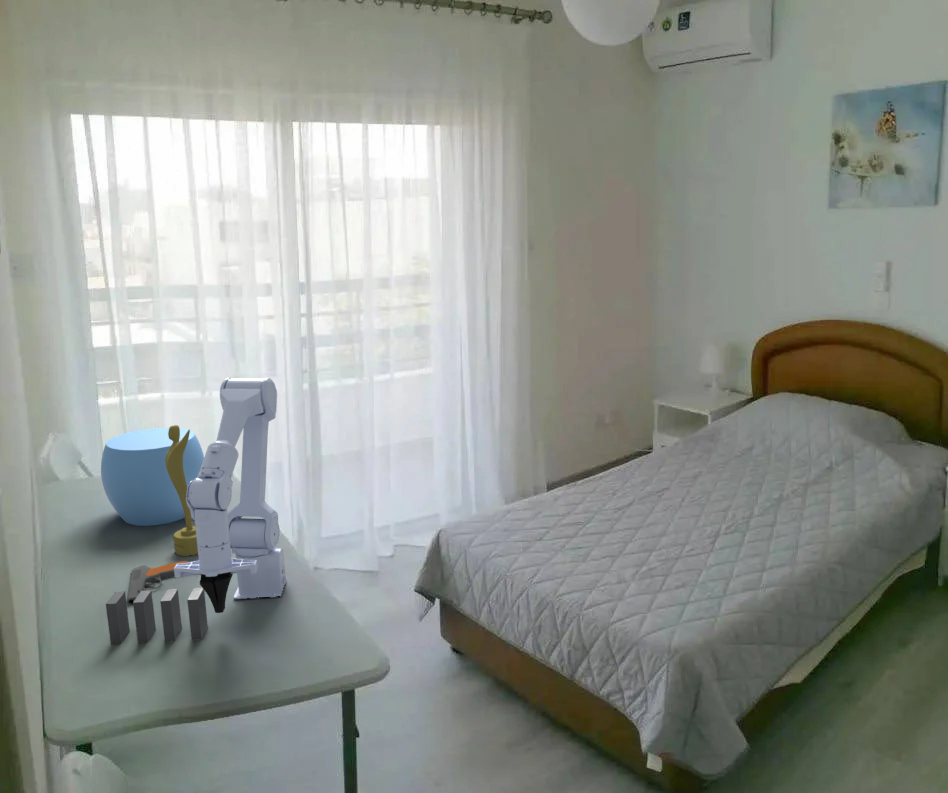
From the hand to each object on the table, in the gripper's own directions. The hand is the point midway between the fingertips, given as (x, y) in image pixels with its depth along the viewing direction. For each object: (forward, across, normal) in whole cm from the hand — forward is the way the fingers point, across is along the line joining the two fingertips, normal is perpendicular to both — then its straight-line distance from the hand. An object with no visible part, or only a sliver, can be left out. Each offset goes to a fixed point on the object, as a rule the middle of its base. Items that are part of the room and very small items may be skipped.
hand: (220, 610), depth 154 cm
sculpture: (+5, -16, +40) cm, 43 cm away
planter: (+5, -31, +66) cm, 73 cm away
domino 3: (+4, -4, 0) cm, 6 cm away
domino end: (+4, -18, 0) cm, 19 cm away
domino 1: (+4, -14, 0) cm, 14 cm away
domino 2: (+4, -9, 0) cm, 10 cm away
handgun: (+5, -18, +23) cm, 30 cm away
